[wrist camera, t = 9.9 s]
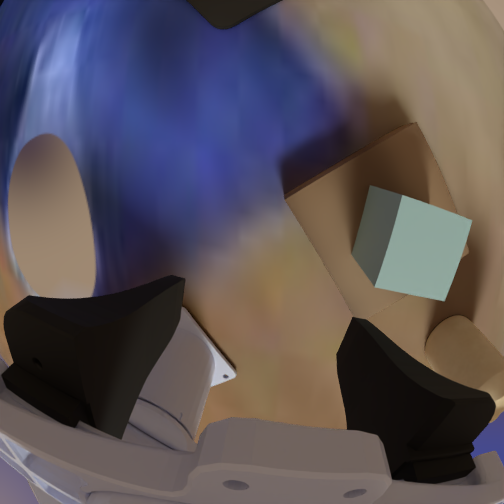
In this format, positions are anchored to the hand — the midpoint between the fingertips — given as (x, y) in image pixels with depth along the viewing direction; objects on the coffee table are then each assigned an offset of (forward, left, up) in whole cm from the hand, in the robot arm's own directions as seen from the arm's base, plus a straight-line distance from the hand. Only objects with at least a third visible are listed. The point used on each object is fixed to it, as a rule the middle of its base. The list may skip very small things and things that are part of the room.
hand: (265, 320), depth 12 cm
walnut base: (+8, -2, -10) cm, 13 cm away
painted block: (+8, -2, -7) cm, 11 cm away
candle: (+10, -16, -10) cm, 21 cm away
